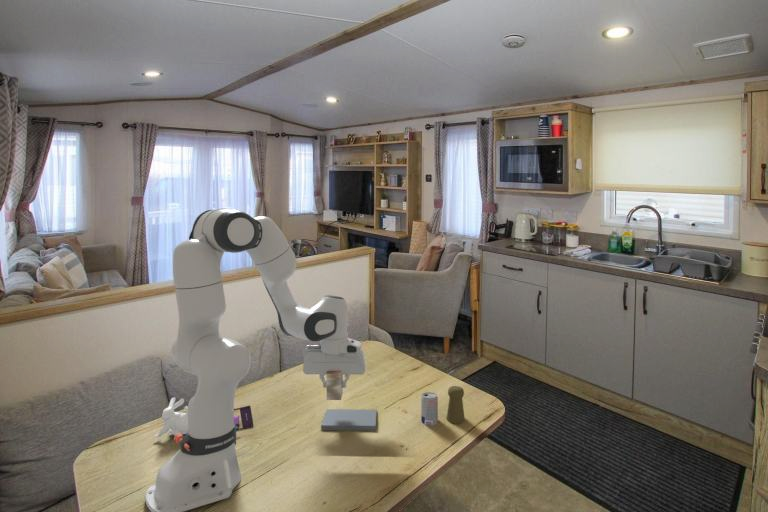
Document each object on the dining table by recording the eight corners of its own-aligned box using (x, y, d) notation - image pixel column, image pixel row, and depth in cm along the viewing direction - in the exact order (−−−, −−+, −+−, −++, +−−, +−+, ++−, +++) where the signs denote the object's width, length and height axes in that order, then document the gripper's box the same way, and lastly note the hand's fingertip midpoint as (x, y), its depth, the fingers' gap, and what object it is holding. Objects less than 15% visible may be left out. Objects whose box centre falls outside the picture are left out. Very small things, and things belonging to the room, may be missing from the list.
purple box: (253, 425, 134) (223, 432, 130) (252, 430, 138) (223, 437, 134) (250, 404, 137) (220, 411, 133) (249, 410, 141) (220, 416, 137)
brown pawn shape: (445, 422, 138) (445, 389, 137) (447, 414, 144) (448, 383, 143) (463, 425, 136) (464, 391, 135) (465, 417, 142) (466, 385, 141)
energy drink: (427, 426, 143) (427, 390, 142) (440, 430, 139) (440, 394, 139) (418, 431, 138) (417, 395, 138) (432, 436, 135) (431, 399, 135)
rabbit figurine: (152, 437, 127) (151, 406, 127) (162, 426, 135) (161, 396, 134) (194, 435, 129) (193, 404, 128) (201, 424, 136) (201, 394, 136)
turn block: (326, 400, 135) (326, 372, 134) (329, 392, 141) (329, 366, 140) (340, 400, 135) (340, 372, 134) (342, 392, 141) (342, 366, 140)
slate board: (376, 413, 144) (376, 409, 144) (375, 430, 132) (375, 425, 132) (326, 413, 144) (326, 409, 144) (321, 430, 132) (321, 425, 132)
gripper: (300, 347, 134) (300, 390, 135) (365, 347, 134) (365, 390, 134) (304, 342, 140) (304, 383, 141) (366, 342, 140) (366, 383, 141)
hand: (334, 387), depth 138 cm, fingers closed on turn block, 4 cm apart
